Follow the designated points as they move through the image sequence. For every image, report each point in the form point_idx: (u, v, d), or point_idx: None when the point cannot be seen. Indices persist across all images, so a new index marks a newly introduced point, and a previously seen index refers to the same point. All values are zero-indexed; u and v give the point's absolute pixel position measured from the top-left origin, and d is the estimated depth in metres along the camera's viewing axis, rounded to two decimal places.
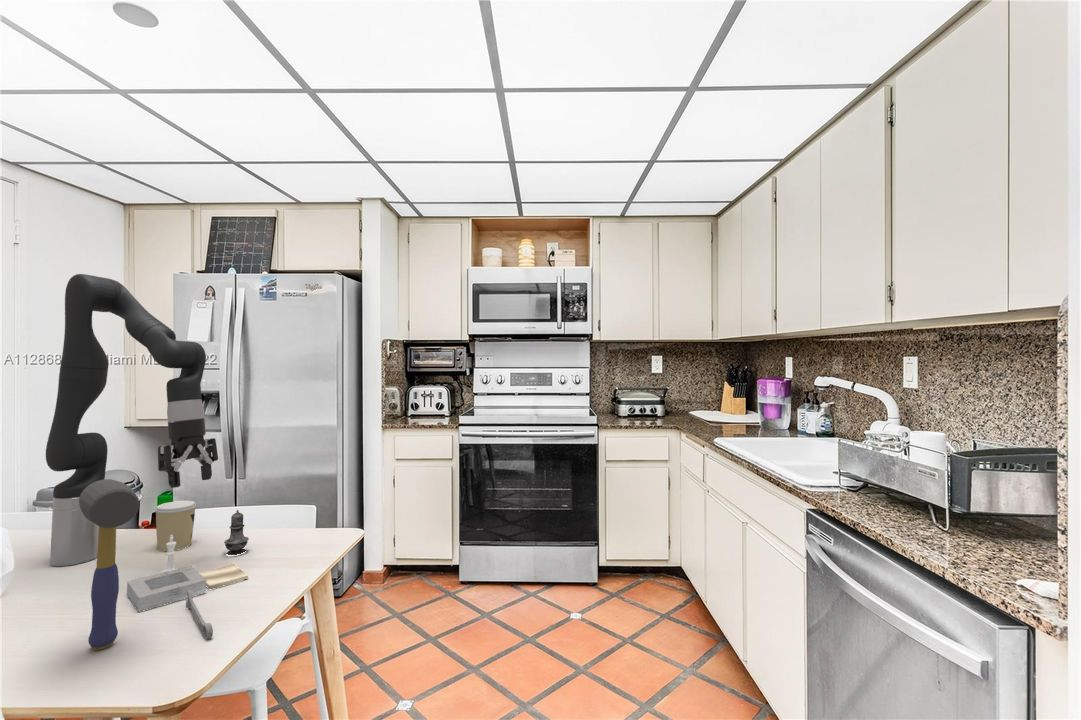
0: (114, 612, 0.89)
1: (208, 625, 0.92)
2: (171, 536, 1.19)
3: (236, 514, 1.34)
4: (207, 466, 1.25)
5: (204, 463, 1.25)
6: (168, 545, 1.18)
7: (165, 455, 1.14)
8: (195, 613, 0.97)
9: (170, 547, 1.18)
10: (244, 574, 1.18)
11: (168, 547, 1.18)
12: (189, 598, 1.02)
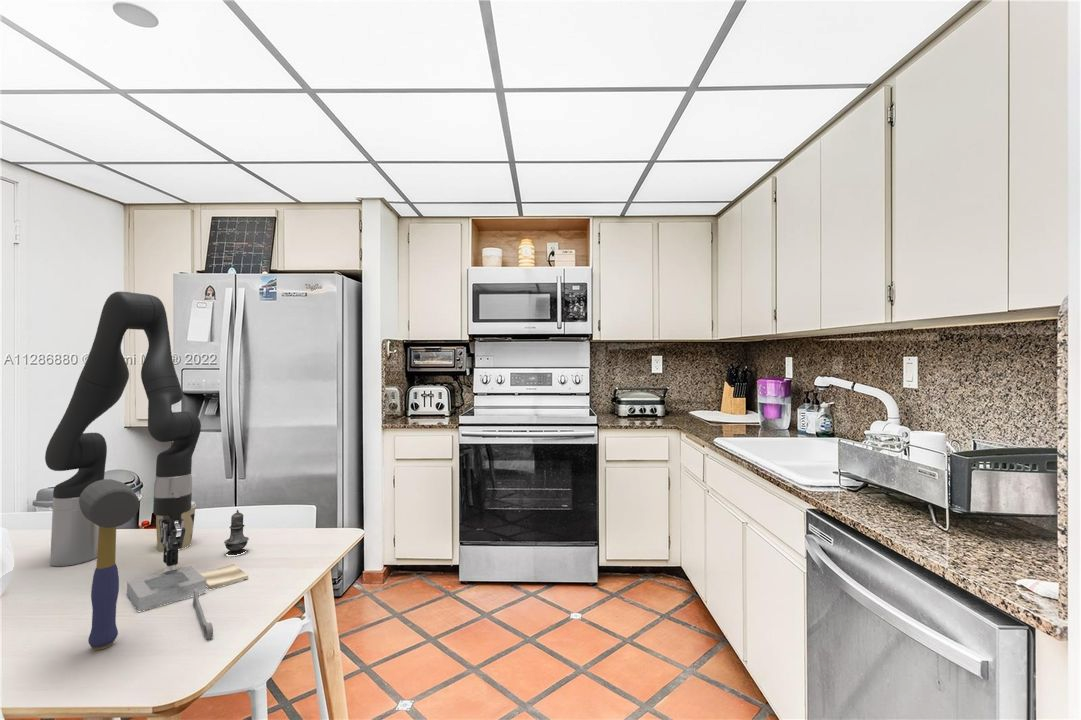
0: (114, 612, 0.89)
1: (209, 625, 0.92)
2: None
3: (236, 514, 1.34)
4: None
5: None
6: None
7: (182, 537, 1.16)
8: (199, 612, 0.98)
9: None
10: (244, 574, 1.18)
11: None
12: (195, 597, 1.03)
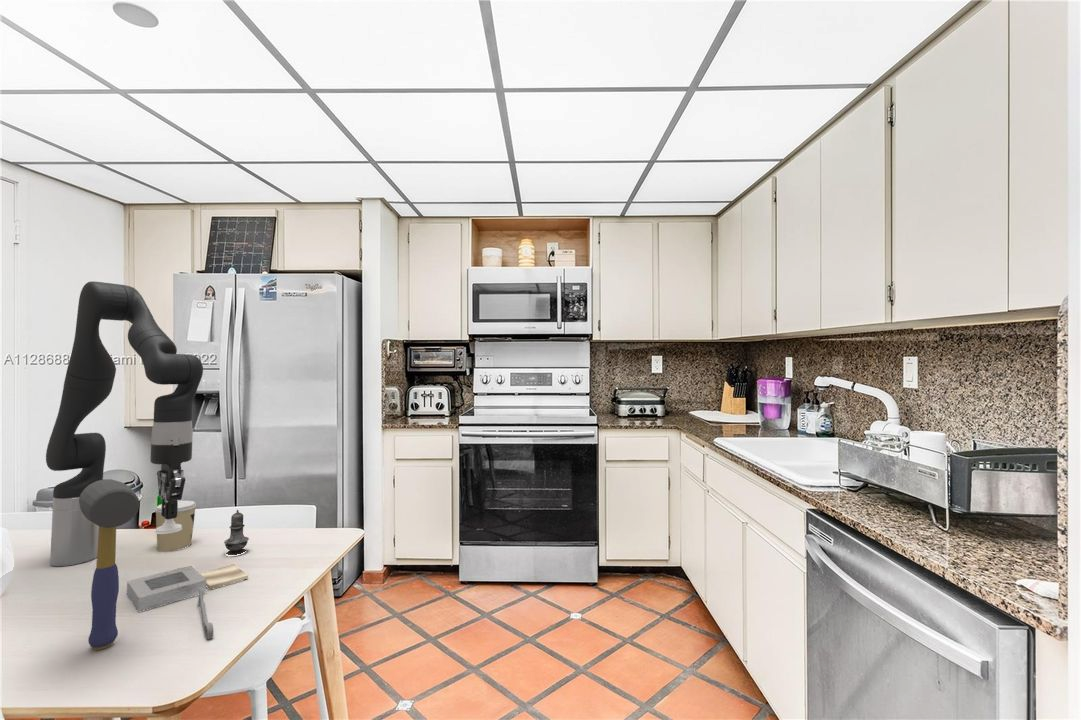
0: (114, 612, 0.89)
1: (209, 625, 0.92)
2: None
3: (236, 514, 1.34)
4: None
5: None
6: None
7: (182, 488, 1.07)
8: (202, 611, 0.98)
9: None
10: (244, 574, 1.18)
11: None
12: (200, 595, 1.03)
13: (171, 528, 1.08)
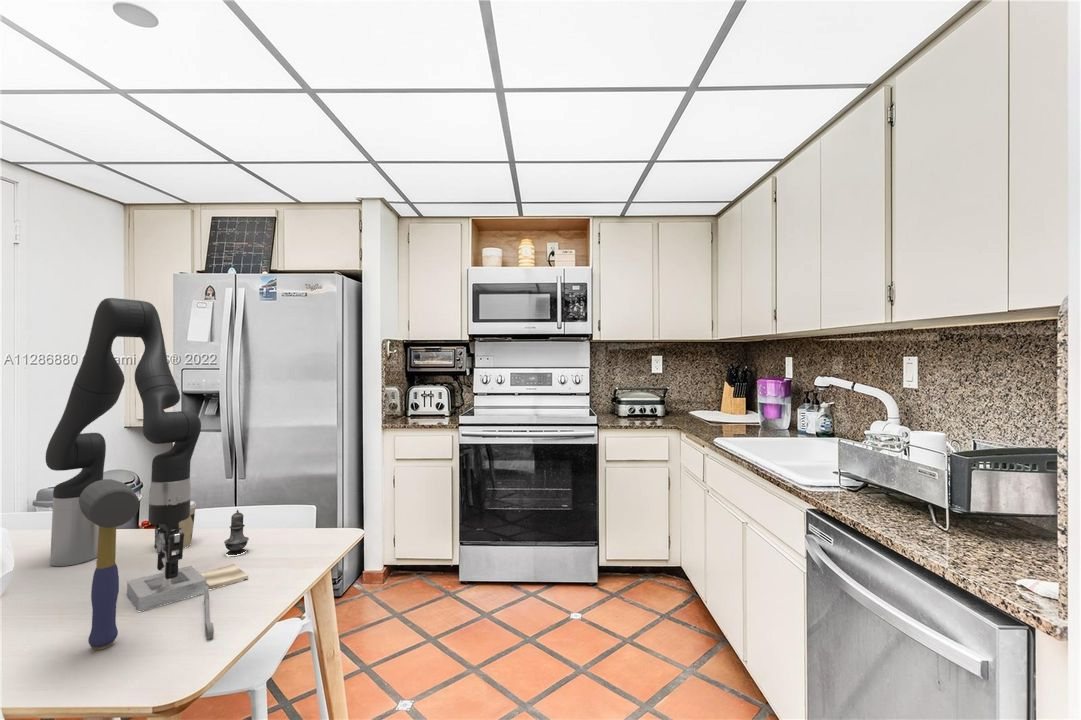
0: (114, 612, 0.89)
1: (209, 625, 0.92)
2: None
3: (236, 514, 1.34)
4: None
5: None
6: (164, 560, 1.09)
7: (181, 544, 1.06)
8: (205, 611, 0.98)
9: None
10: (244, 574, 1.18)
11: (164, 562, 1.09)
12: (205, 594, 1.04)
13: None
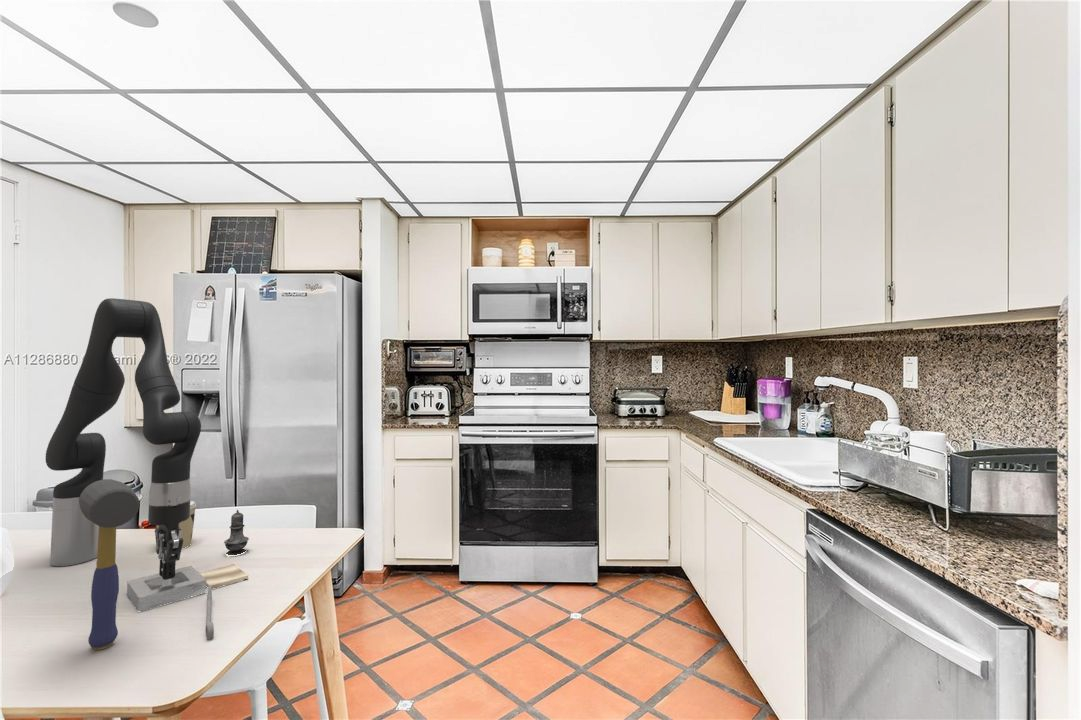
0: (114, 612, 0.89)
1: (210, 625, 0.92)
2: None
3: (236, 514, 1.34)
4: None
5: None
6: None
7: (180, 549, 1.07)
8: (207, 610, 0.98)
9: None
10: (244, 574, 1.18)
11: None
12: (208, 594, 1.04)
13: None
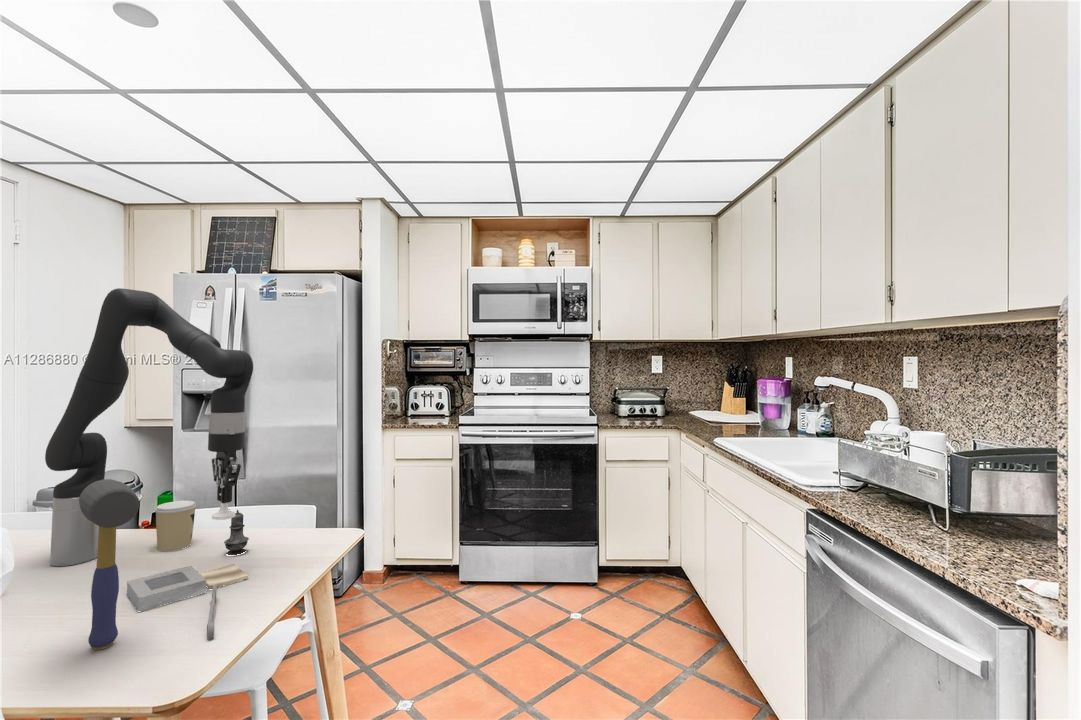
0: (114, 612, 0.89)
1: (210, 625, 0.92)
2: None
3: (236, 514, 1.34)
4: None
5: None
6: None
7: (237, 474, 1.15)
8: (210, 609, 0.99)
9: None
10: (244, 574, 1.18)
11: None
12: (212, 593, 1.05)
13: (226, 515, 1.17)
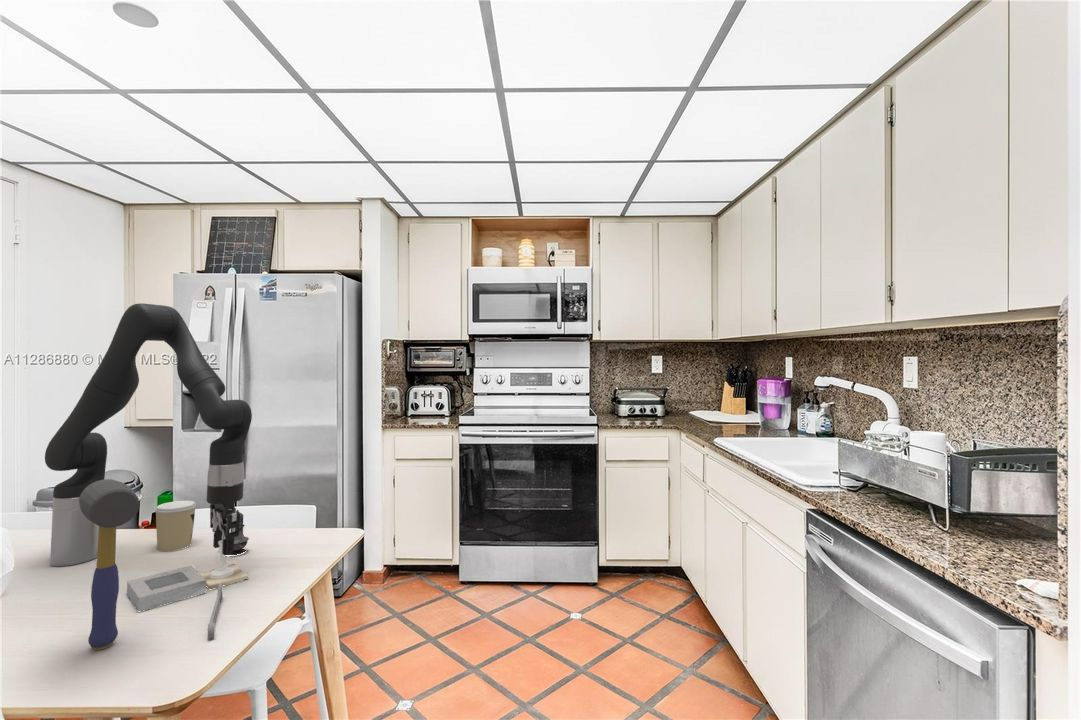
0: (114, 612, 0.89)
1: (211, 625, 0.92)
2: None
3: None
4: None
5: (219, 530, 1.20)
6: (220, 543, 1.17)
7: (238, 522, 1.14)
8: (213, 609, 0.99)
9: (222, 545, 1.17)
10: (244, 574, 1.18)
11: (220, 545, 1.17)
12: (218, 592, 1.05)
13: (224, 573, 1.16)
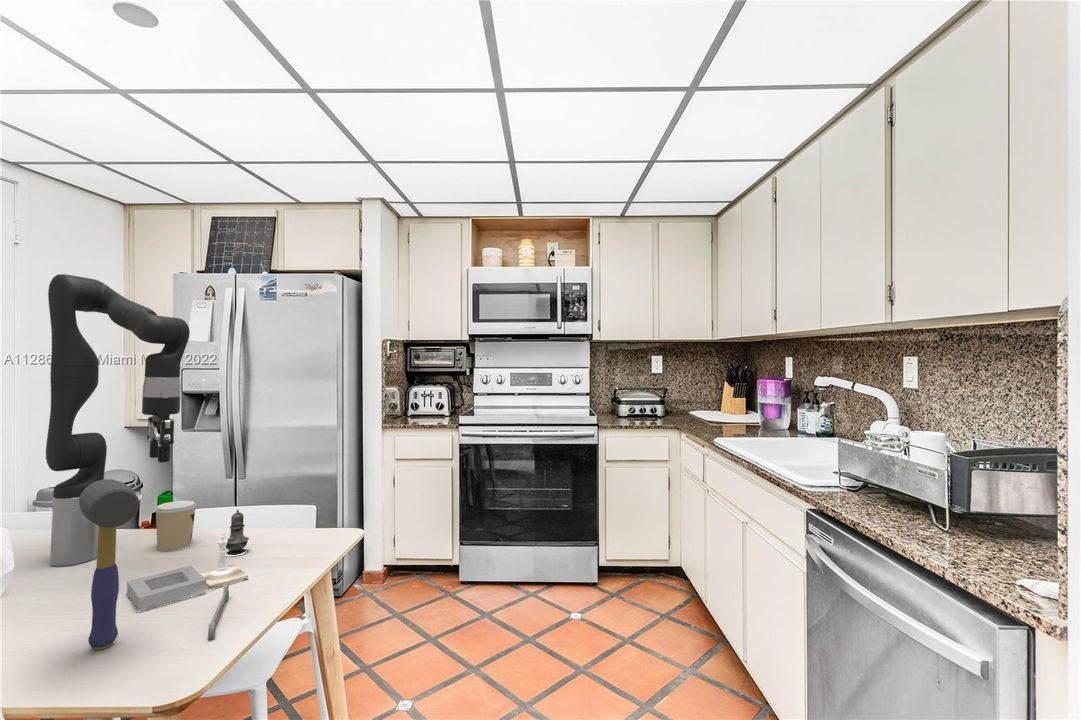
0: (114, 612, 0.89)
1: (211, 625, 0.92)
2: (223, 534, 1.18)
3: (236, 514, 1.34)
4: None
5: (155, 441, 1.24)
6: (220, 543, 1.17)
7: (172, 429, 1.18)
8: (217, 608, 0.99)
9: (222, 545, 1.17)
10: (244, 574, 1.18)
11: (220, 545, 1.17)
12: (223, 591, 1.05)
13: (224, 573, 1.16)
